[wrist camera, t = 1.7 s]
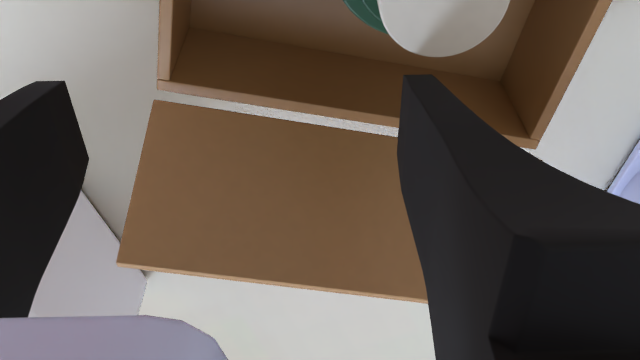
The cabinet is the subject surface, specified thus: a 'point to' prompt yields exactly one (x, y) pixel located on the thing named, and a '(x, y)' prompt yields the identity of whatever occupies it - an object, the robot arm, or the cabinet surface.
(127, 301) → the medicine bottle
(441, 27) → the bottle
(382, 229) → the flap
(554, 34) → the carton
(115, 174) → the cabinet surface
